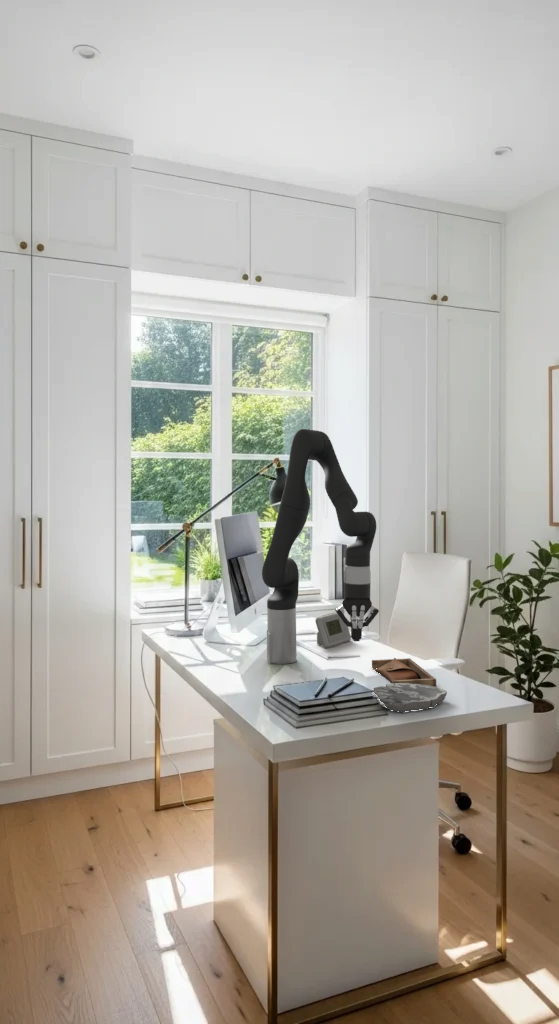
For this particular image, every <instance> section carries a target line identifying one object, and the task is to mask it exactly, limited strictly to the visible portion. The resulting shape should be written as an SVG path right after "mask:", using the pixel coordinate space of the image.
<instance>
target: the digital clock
mask: <svg viewBox="0 0 559 1024" xmlns="http://www.w3.org/2000/svg"><path fill="white" fill-rule="evenodd" d="M314 620H315V626H316V628H317V632H316V645H317V644H319V645H318V646H321V645H323V646H322V647H323V648H325V649H329V648H334V647H336V646H337V647H338V646H339V645H343V644H345V643H347V642H349V641H351V639H352V638H351V631H350V629H349V627H348V626H347V625H346V624H345V623H344V622H343V620H342V619H341V618H340V617H339V615H338V614H337V613H336V612H332V613H328V614H324V615H322V616H318V617H316V618H315V619H314Z"/></svg>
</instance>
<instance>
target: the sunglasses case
mask: <svg viewBox="0 0 559 1024" xmlns="http://www.w3.org/2000/svg"><path fill="white" fill-rule="evenodd" d="M392 659H393V660H392V661H390V662H388V663H387V664H385V665H383V666H381V667H379V668H377V669H374V670H375V671H376V672H375V671H374V672H375V673H377V672H378V673H377V674H379V673H380V674H381V675H380V674H379V675H380V676H381V677H383V678H385V679H386V680H387V681H388V682H390V684H392V683H393V680H411V679H421V677H420V675H419V674H418V673H417V672H416V671H414V670H412V669H411V668H409V667H408V666H406V665H405V664H403V663H401V662H400V661H398V660H397V659H398V658H396V657H394V658H392Z"/></svg>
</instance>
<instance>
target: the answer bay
mask: <svg viewBox="0 0 559 1024" xmlns="http://www.w3.org/2000/svg"><path fill="white" fill-rule="evenodd" d="M393 659H394V658H392V659H391V658H388V659H387V658H386V659H385V658H384V659H372V660H371V669H372V668H379V667H381V666H383V665H385V664H387V663H388V662H390V661H392V660H393ZM396 659H397V660H398V661H400V662H401V663H403V664H405V665H406V666H408V667H409V668H411V669H412V670H414V671H416V672H417V673H418V674H419V675H420V677H421V679H411V680H393V684H394V683H410V684H422V685H430V686H434V687H437V678H435V677H434V676H433V675H431V674H430V673H429V672H428V671H426V670H425V669H424V668H423V667H421V666H420V665H418V663H416V662H415V661H414V660H412V659H411V658H407V657H406V658H396Z"/></svg>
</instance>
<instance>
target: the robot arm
mask: <svg viewBox="0 0 559 1024" xmlns="http://www.w3.org/2000/svg"><path fill="white" fill-rule="evenodd" d="M309 461H316V462H317V463H318V464H319V465H320V467H321V468H322V470H323V471H324V488H325V491H326V493H327V496H328V498H329V500H330V502H331V503H332V505H333V507H334V509H335V513H336V516H337V521H338V526H339V528H340V531H341V532H342V533H343V534H344V535H345V536H347V537H350V538H354V537H356V539H355V541H354V543H351V544H350V545H348V546H346V548H345V561H344V562H345V569H344V576H343V582H344V583H343V601H342V603H341V605H340V606H339V607H335V609H334V611H335V613H337V614H338V615H339V617H340V618H341V619H342V620H343V622H344V623H345V624H346V625H347V626H348V628H349V627H350V635H351V639H352V640H353V642H360V640H362V636H363V634H362V631H363V630H362V629H363V628H364V627H368V626H369V625H370V624H371V623H372V622H373V620H374V618H376V616H377V615H378V613H379V612H380V611H379V609H378V608H377V607H374V606H373V603H372V601H371V578H372V577H371V550H372V547H373V543H374V541H375V536H376V533H377V521H376V518H375V516H374V514H373V513H372V512H370V511H354V510H355V509H356V507H357V506H358V503H359V502H358V501H359V500H358V497H357V495H356V494H355V492H354V490H353V489H352V487H351V485H350V484H349V482H348V480H347V478H346V476H345V474H344V473H343V470H342V468H341V465H340V462H339V459H338V458H337V455H336V451H335V448H334V447H333V444H332V442H331V439H330V437H329V435H327V433H325V432H324V431H321V430H316V429H309V428H307V429H306V428H300V429H298V430H297V431H296V432H295V434H294V436H293V438H292V441H291V444H290V451H289V458H288V465H287V472H286V478H285V483H284V486H283V493H282V496H281V499H280V502H279V507H278V513H277V516H276V521H275V526H274V528H273V529H274V530H273V533H272V537H271V541H270V544H269V548H268V550H267V554H266V556H265V558H264V562H263V566H262V569H261V578H262V581H263V583H264V584H265V586H267V588H271V589H273V592H272V593H271V595H270V596H269V597H268V599H266V600H267V601H266V606H267V608H266V613H267V617H266V619H267V629H266V659H267V661H268V663H269V664H278V665H285V664H291V663H295V662H297V613H296V612H297V609H296V608H297V604H296V603H297V601H298V597H299V586H300V585H299V583H300V582H299V579H300V578H299V577H300V574H299V568H298V564H297V563H296V561H295V560H294V559H292V558H291V557H289V555H290V552H291V549H292V547H293V545H294V543H295V542H296V540H297V538H298V536H299V535H300V534H301V532H302V530H303V528H304V527H305V525H306V522H307V520H308V514H309V511H310V506H311V497H310V493H309V490H308V486H307V482H306V472H307V466H308V462H309ZM345 611H346V612H347V614H348V615H349V619H350V621H349V619H348V618H347V617H346V616H345ZM368 612H369V613H368ZM367 613H368V615H367ZM366 615H367V616H366Z"/></svg>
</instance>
